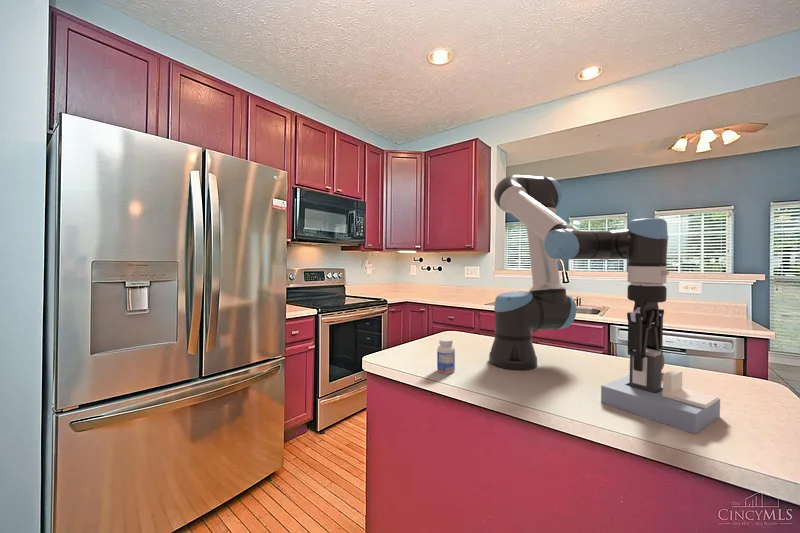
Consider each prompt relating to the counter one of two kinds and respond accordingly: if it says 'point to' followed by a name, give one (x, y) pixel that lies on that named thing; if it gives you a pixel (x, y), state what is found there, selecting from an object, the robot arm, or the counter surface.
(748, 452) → the counter surface
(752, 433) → the counter surface
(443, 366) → the pill bottle
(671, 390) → the shutter
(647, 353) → the plug
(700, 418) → the socket board
